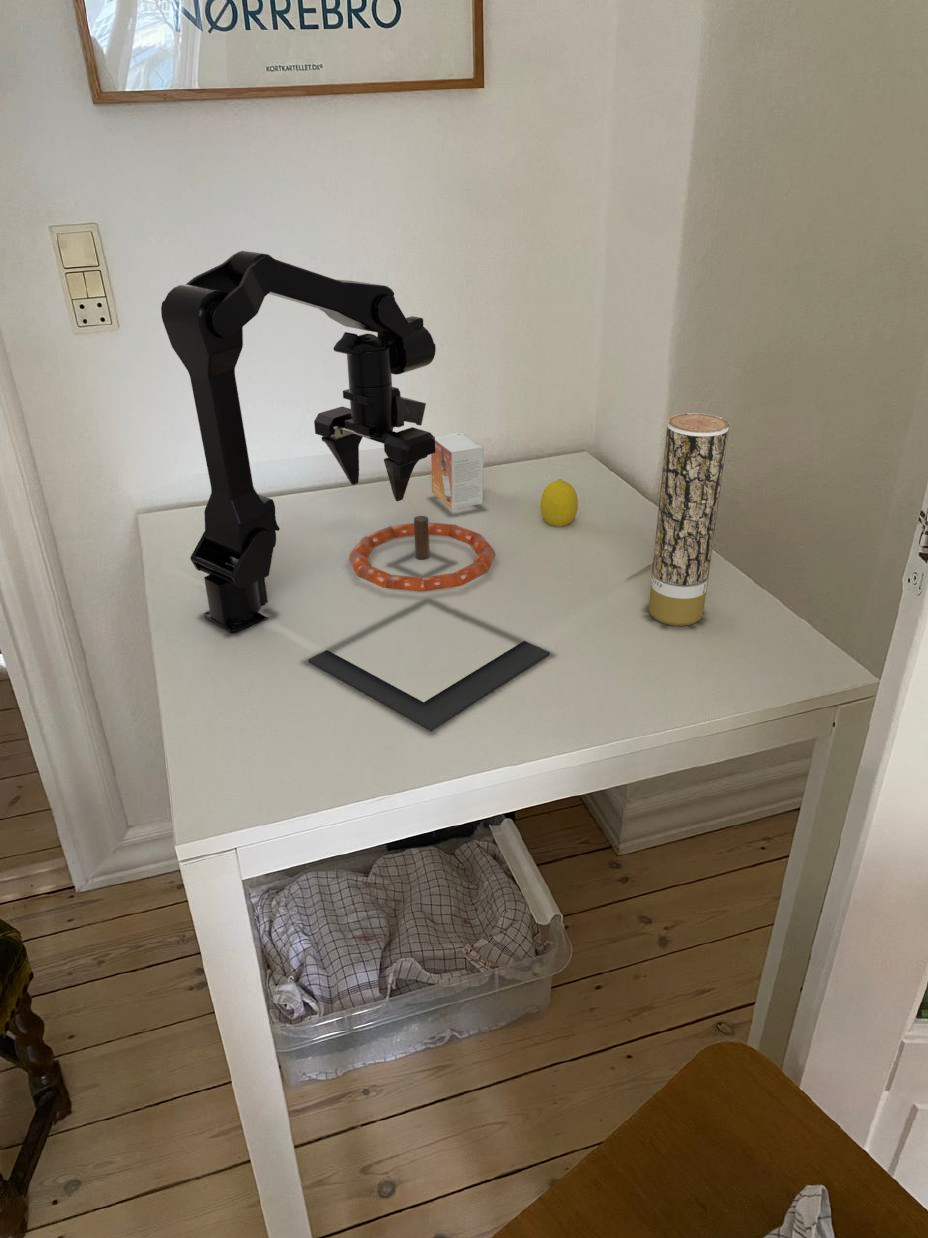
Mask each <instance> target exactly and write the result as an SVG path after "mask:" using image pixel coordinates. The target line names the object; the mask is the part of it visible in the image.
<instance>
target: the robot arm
mask: <svg viewBox="0 0 928 1238" xmlns="http://www.w3.org/2000/svg"><path fill="white" fill-rule="evenodd" d="M267 295H271V296H275V297H278V298H282V299H285V300H288V301H292V302H295V303H298V304H302V305H305V306H308V307H312V308H315V309H318V310H320V311H321V312H323V313H324V314H325V315H326V316H327V317H328V318H329V319H331V320H333V321H334V322H337V323H338V324H340V325H341V326H344V327H347V328H351V329H358V330H361V331H366V332H372V333H364V334H359V335H358V334H357V333H352V332H349V331H348V332H347V331H344V332H343V334H342V336H341V337H340V339H339V340H338V341H337V342H336V343H335V344H334V345H333V352H335V353H340V354H343V355H344V354H345V355H346V360H347V361H346V363H347V378H348V389H344V390H342V398H343V399H344V400H347V401H349V407H350V408H349V407H346V406H339V407H336V408H331V409H329V410H325V411H322V412H319V413H317V416H316V417H315V419H314V422H313V424H314V425H313V426H314V433H315V435H318V436H321V439H320V440H321V442H323V443H325V445H326V446H327V447H328V449H329V450H330V452H331V453H332V455H333V456H334V458H335V460H336V461H337V464H339V466H340V468H341V470H342V471H343V473H344V474H345V476H346V478H347V480H348V481H349V483H350V484H351V485H352V486H355V485H357V484H359V479H360V443H361V441H362V439H363V438H365V439H368V440H371V441H375V442H377V443H380V444H383V451H384V453H385V455H386V456H387V457H385V458H383V462H384V467H385V469H386V473H387V477H388V480H389V481H388V482H389V484H390V485H389V486H390V487H391V488H390V489H391V492H392V495H393V498H394V501H396V502H400V501H403V499H404V497H405V494H406V490H407V489H408V485H409V482H410V478H411V476H412V473H413V471H414V469H415V466H416V465H417V463H418V462H419V461H420V460H423V459H426V458H427V457H428V456H431V454H433V453H435V437H434V436H435V435H433V433H432V432H430V431H427V430H423V429H420V428H416V427H413V426H411V427H408V428H406V429H402V430H399V431H395V430H394V429H395V428H402V427H405V423H413V424H415V425H416V426H422V425H423V420H424V417H425V416H424V415H425V410H426V406H427V403H426V402H423V401H419V400H415V399H412V398H408V397H403V396H401V390H400V389H399V387H395V386H393V381H392V380H393V379H392V377H393V376H392V375H401V374H405V373H408V372H412V371H415V370H418V369H421V368H424V367H427V366H429V365H431V364H432V362H433V360H434V359H435V356H436V350H437V349H436V348H437V347H436V343H435V342H434V339H433V336H432V334H431V332H430V331H429V330H428V329H427V328H426V327H425V326H424V318H423V317H419V316H412V315H411V316H408V317H406V316H405V314H404V313H403V311H402V309H401V308H400V306H399V304H398V303H397V301H396V298H395V291H394V290H393V289H392V288H391V287H390V286H387V285H382V284H376V283H370V282H363V281H358V280H357V281H356V280H349V279H335V278H332V277H329V276H326V275H323V274H320V273H317V272H314V271H311V270H308V269H305V268H302V267H299V266H296V265H294V264H291V263H288V262H284V261H281V260H278V259H276V258H274V257H273V256H271V255H270V254H268V253H262V252H255V251H248V250H240V251H238V252H236V253H234V254H232V255H231V256H230V257H229V258H228V259H226V260H225V261H224V262H222V263H220V264H218V265H217V266H214V267H212V268H210V269H208V270H206V271H204V272H202V273H200V274H197V275H196V276H194V277H192V279H190V280H189V281H188V282H186V283H185V284H179V285H177V286H174V287H173V288H172V289H171V290H170V291H169V292H167V295H166V296H165V298H164V300H163V301H162V302H161V307H160V313H161V320H162V323H163V326H164V329H165V331H166V334H167V337H168V341H169V342H170V345H171V348H172V350H173V351H174V352H175V354H176V355H177V357H178V359H179V360H180V361H181V363H182V365H183V366H184V368H185V369H186V371H187V372H188V376H189V378H190V385H191V390H192V394H193V399H194V406H195V411H196V415H197V416H196V417H197V421H198V427H199V430H200V436H201V441H202V447H203V451H204V457H205V462H206V463H205V464H206V468H207V474H208V478H209V482H210V489H211V490H210V492H211V493H210V495H209V498H208V500H207V502H206V505H205V508H204V513H203V514H204V531H203V533H202V535H201V537H200V539H199V540H198V542H197V544H196V546H195V548H194V550H193V551H192V554H191V555H190V562H191V563H192V564H193V566H194V568H195V570H197V571H199V572H203V573H205V574H207V575H206V576H204V578H203V580H204V585H205V591H206V597H207V603H208V609H209V610H207V611H205V612H203V617H204V618H205V619H206V620H207V621H209V622H212V623H213V624H215V625H217V626H218V627H220V628H222V629H224V630H225V631H227V632H228V633H231V634H235V633H238V632H240V631H242V630H244V629H247V628H249V627H251V626H253V625H255V624H257V623H259V622H262V621H264V620H266V619H268V617H267V616H266V615H263V614H262V613H259V612H260V611H261V608H262V607H264V606H265V605H266V604H267V603H268V602H269V600H268V592H267V584H266V578H267V577H269V575H270V572H271V566H272V560H273V554H274V548H276V545H277V532H279V531H280V530H281V529H280V526H279V525H278V522H277V519H276V505H275V502H274V499H273V498H270V497H268V496H267V497H266V496H264V495H261V494H258V493H257V491H256V489H255V487H254V481H253V476H252V470H251V469H252V468H251V464H250V457H249V451H248V445H247V439H246V433H245V427H244V422H243V415H242V408H241V403H240V397H239V389H238V385H237V378H236V366H237V364H238V361H239V358H240V356H241V353H242V351H243V347H244V330H243V329H244V327H245V325H247V324H248V323H249V322H250V321H251V320H252V319H254V318H255V317H256V316H257V315H258V313H259V312H260V308H261V307H262V304H263V302H264V300H265V298H266V297H267ZM373 333H377V335H375V334H373Z"/></svg>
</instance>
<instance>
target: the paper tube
mask: <svg viewBox="0 0 928 1238" xmlns="http://www.w3.org/2000/svg"><path fill="white" fill-rule="evenodd" d="M729 426H730V422H729V421H728V420H727V419H725V418H723V417H720V416H717V415H714V414H708V413H699V412H698V413H697V412H693V413H692V412H690V413H679V414H675V415H672V416H670V417H668V419H667V424H666V432H665V441H664V452H663V461H662V462H663V463H662V471H661V472H662V473H661V479H660V490H659V499H658V501H659V502H658V510H657V511H658V512H657V519H656V520H657V521H656V529H655V530H656V531H655V537H654V538H655V540H654V549H653V557H652V567H651V568H652V569H651V579H650V591H649V598H648V599H649V600H648V612H649V614H650V615H651V617H652V618H653V619H654V620H656V621H658V622H659V623H662V624H664V625H668V626H672V627H686V626H690V625H693V624H696V623H697V622H699V621H700V620H701V619H702V618H703V615H704V610H705V603H706V595H707V590H708V582H709V575H710V568H711V563H712V554H713V547H714V539H715V531H716V525H717V518H718V512H719V511H718V510H719V503H720V496H721V488H722V481H723V473H724V468H725V467H724V466H725V459H726V452H727V445H728V439H729V431H730V427H729Z"/></svg>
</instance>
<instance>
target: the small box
mask: <svg viewBox="0 0 928 1238" xmlns="http://www.w3.org/2000/svg"><path fill="white" fill-rule="evenodd" d="M433 436H434V437H435V453H433V454H430V461H431V463H430V465H431V466H430V467H431V493H432V494H433V495H434V496H436V497H437V499H439V500H440V501H441V502H443V503H444V504H445V505H446V506H447V507H448V508H450V509H451V510H456V509H462V508H466V507H471V506H477V505H481V504H483V503H484V451H485V450H484V449H485V448H484V446H482V445H480V444H478V443H477V442H476V441H474V440H473V439H471V438H470V437H468V435H466V434H465V433H463V432H462V431H461V432H454V433H449V434H441V435H436V436H435V435H433Z"/></svg>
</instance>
